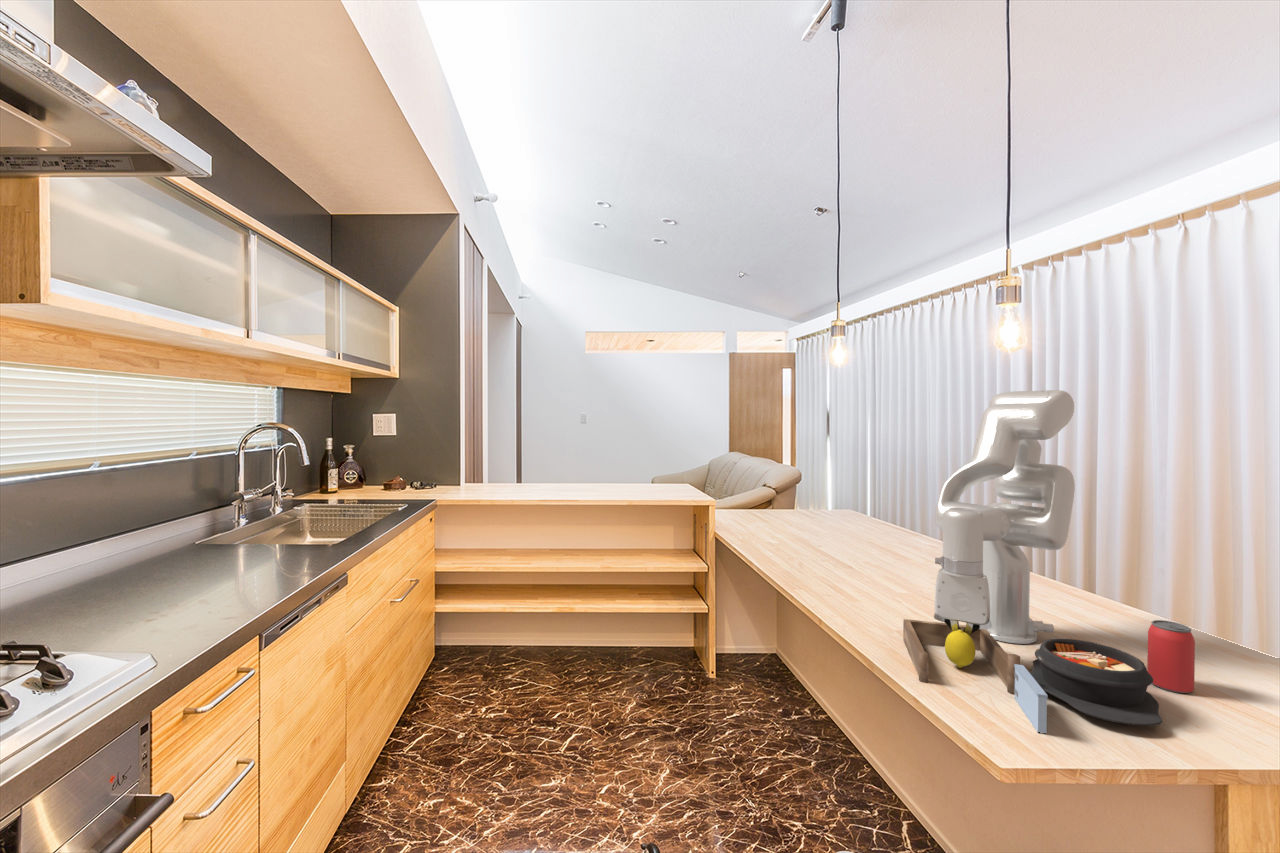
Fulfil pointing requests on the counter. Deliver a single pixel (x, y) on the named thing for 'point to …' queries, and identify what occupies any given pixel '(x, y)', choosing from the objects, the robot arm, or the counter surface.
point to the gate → (1031, 698)
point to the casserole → (1097, 681)
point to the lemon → (960, 648)
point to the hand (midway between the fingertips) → (961, 650)
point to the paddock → (936, 636)
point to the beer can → (1171, 656)
